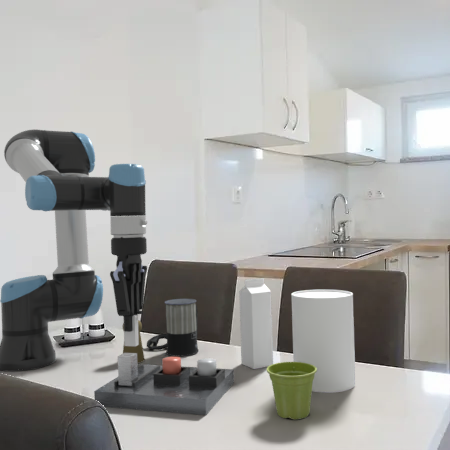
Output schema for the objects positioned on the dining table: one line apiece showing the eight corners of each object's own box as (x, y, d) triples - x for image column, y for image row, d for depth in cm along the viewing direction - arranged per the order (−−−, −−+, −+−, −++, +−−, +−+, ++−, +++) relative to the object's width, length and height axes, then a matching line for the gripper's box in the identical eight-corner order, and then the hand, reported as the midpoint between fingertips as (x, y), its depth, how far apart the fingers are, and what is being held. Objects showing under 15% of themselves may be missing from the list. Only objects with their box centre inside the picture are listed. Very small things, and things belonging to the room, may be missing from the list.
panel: (94, 405, 103) (93, 381, 103) (138, 376, 122) (138, 355, 122) (206, 415, 96) (205, 388, 96) (234, 382, 115) (233, 360, 115)
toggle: (118, 385, 106) (117, 356, 106) (125, 380, 108) (124, 352, 108) (131, 385, 105) (130, 357, 105) (138, 381, 108) (137, 353, 108)
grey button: (194, 377, 105) (194, 363, 105) (201, 371, 109) (200, 357, 109) (213, 378, 104) (212, 363, 104) (218, 372, 108) (218, 358, 108)
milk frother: (197, 356, 139) (195, 302, 139) (140, 358, 140) (138, 304, 140) (200, 344, 153) (199, 295, 153) (149, 345, 154) (147, 297, 154)
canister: (288, 389, 109) (285, 297, 109) (300, 371, 122) (298, 289, 122) (352, 394, 105) (349, 298, 105) (358, 375, 117) (355, 290, 117)
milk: (273, 365, 128) (271, 279, 128) (253, 369, 125) (251, 280, 125) (260, 360, 133) (258, 277, 133) (240, 363, 130) (238, 278, 130)
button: (159, 375, 108) (159, 361, 108) (167, 369, 111) (166, 356, 111) (177, 376, 106) (176, 362, 106) (184, 370, 110) (183, 357, 110)
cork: (139, 364, 133) (138, 322, 133) (118, 363, 135) (117, 322, 135) (147, 357, 139) (146, 318, 139) (127, 357, 140) (125, 317, 140)
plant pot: (284, 427, 89) (282, 378, 89) (259, 410, 98) (258, 365, 98) (328, 418, 93) (326, 371, 93) (300, 402, 102) (299, 359, 102)
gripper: (130, 237, 101) (133, 354, 102) (157, 234, 114) (159, 338, 114) (97, 237, 103) (100, 352, 104) (127, 235, 116) (129, 337, 116)
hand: (131, 345), depth 109 cm, fingers closed
